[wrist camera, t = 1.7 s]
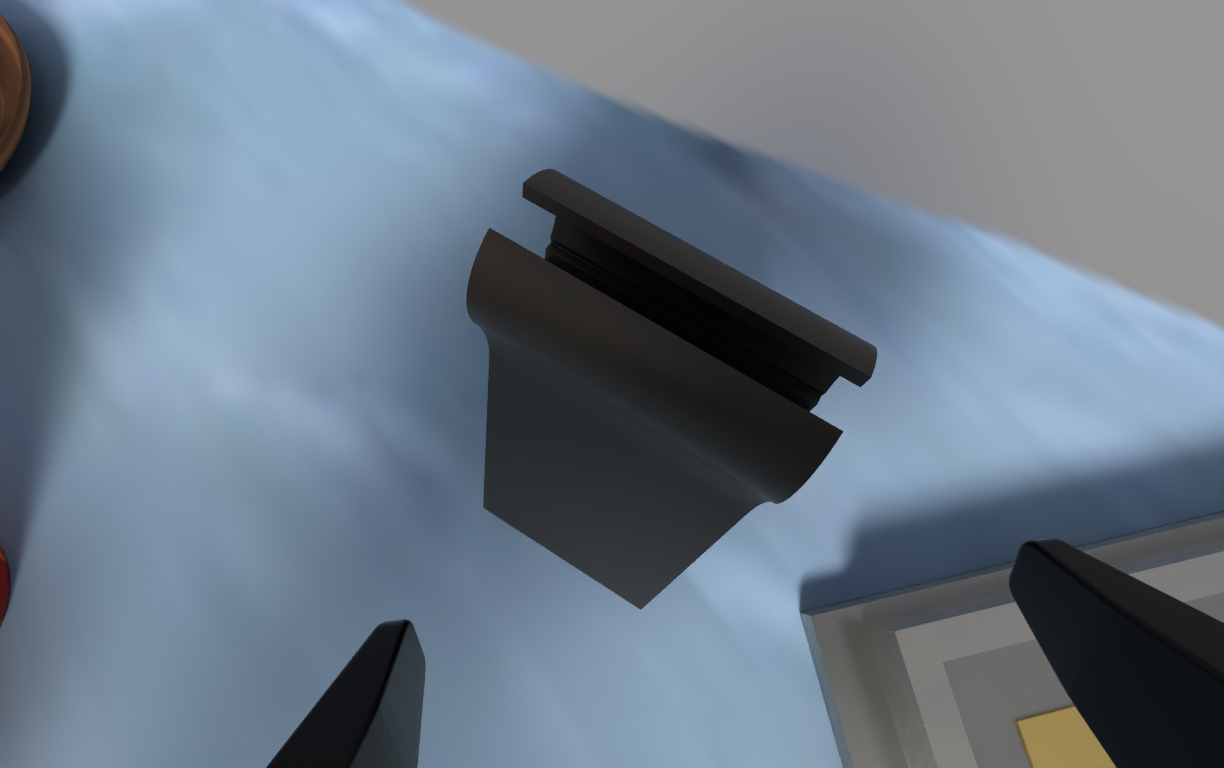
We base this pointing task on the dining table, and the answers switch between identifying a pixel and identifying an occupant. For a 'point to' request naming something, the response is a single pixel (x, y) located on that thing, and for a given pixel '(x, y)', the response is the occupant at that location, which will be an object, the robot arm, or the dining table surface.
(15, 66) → the cup and saucer
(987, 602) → the square tray
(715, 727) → the dining table surface
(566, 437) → the phone stand
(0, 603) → the paper cup
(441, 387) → the dining table surface
